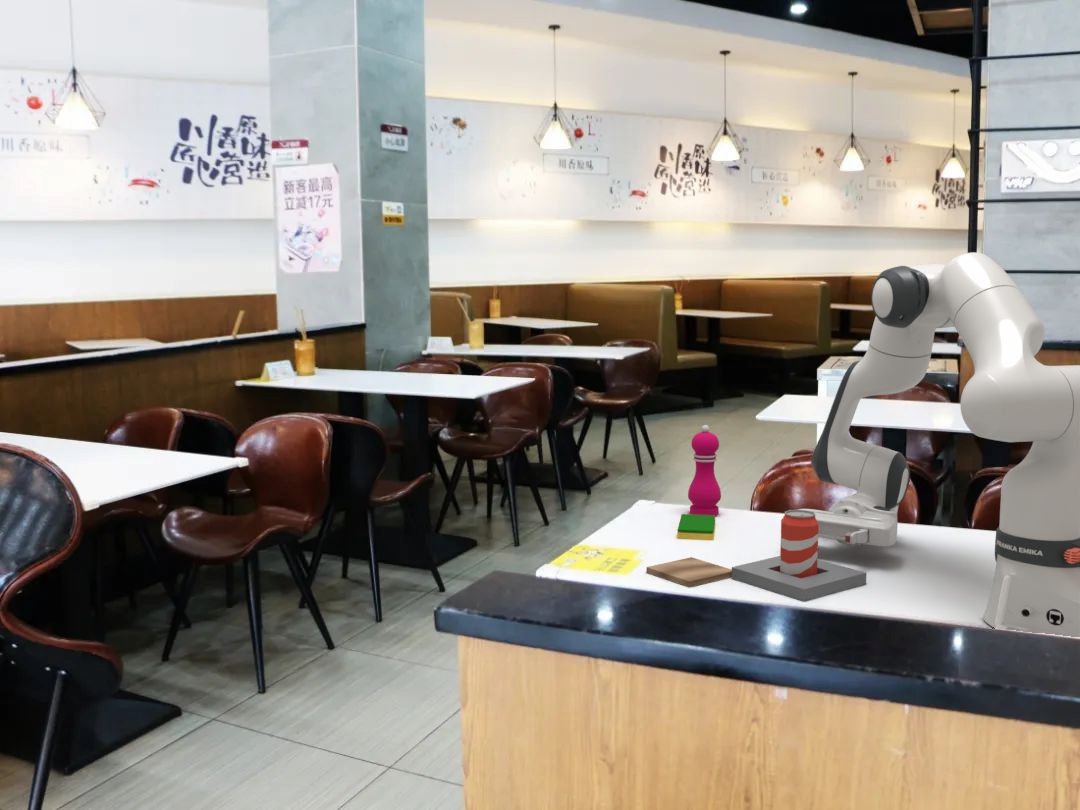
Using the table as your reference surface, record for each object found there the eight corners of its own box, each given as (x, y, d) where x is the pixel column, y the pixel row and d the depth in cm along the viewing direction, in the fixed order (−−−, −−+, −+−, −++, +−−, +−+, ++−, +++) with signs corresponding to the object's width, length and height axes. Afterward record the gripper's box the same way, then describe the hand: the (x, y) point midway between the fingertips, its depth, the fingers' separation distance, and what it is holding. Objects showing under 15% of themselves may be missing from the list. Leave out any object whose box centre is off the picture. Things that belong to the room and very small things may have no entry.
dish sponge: (677, 541, 208) (677, 529, 207) (681, 524, 221) (681, 513, 221) (713, 542, 206) (713, 530, 206) (715, 526, 220) (715, 515, 219)
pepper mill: (720, 518, 224) (721, 427, 222) (686, 517, 226) (687, 427, 223) (721, 511, 231) (722, 423, 229) (688, 510, 233) (689, 422, 230)
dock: (866, 583, 176) (866, 572, 176) (803, 601, 167) (804, 589, 167) (792, 563, 189) (793, 552, 189) (731, 578, 180) (731, 567, 180)
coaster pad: (735, 576, 181) (735, 570, 181) (689, 587, 175) (689, 581, 175) (691, 562, 190) (691, 557, 190) (646, 572, 184) (646, 567, 184)
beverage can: (772, 581, 178) (774, 513, 177) (792, 573, 183) (794, 507, 181) (803, 588, 174) (805, 519, 172) (823, 581, 178) (825, 512, 177)
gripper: (800, 498, 203) (769, 510, 192) (905, 511, 190) (879, 525, 179) (799, 529, 203) (769, 543, 192) (904, 545, 191) (878, 561, 180)
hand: (823, 535), depth 186 cm, fingers open, 8 cm apart
